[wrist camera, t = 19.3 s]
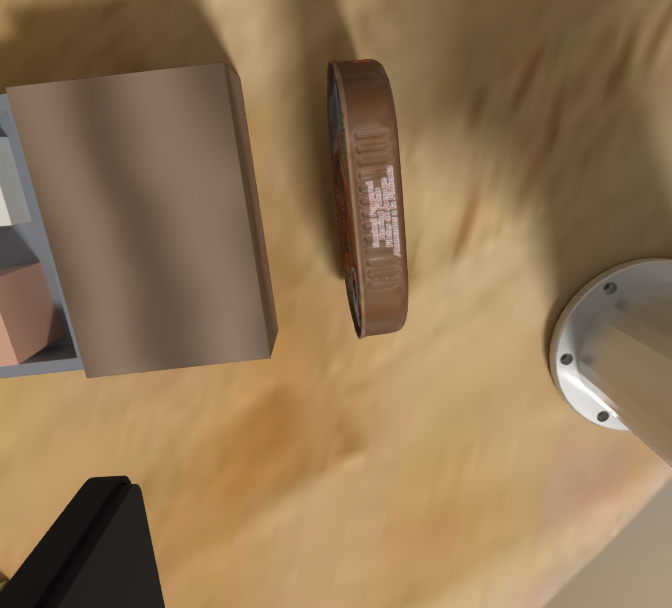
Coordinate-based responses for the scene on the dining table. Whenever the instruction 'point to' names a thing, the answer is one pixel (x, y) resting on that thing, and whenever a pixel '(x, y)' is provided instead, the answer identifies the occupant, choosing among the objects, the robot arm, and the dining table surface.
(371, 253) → the tin
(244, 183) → the brown flat block
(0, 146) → the cream tile
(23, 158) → the box
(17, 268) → the terracotta tile
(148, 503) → the dining table surface
